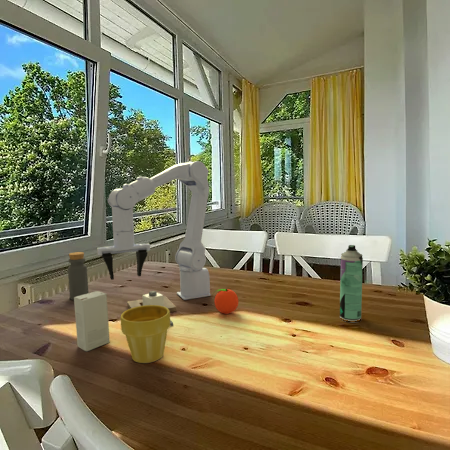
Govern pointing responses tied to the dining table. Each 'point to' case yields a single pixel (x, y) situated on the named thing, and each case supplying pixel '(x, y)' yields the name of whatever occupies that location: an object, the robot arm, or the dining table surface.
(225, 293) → the clementine
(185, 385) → the dining table surface
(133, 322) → the plant pot
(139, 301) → the holder
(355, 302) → the spray can
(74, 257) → the bottle
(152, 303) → the plug
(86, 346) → the skincare box
